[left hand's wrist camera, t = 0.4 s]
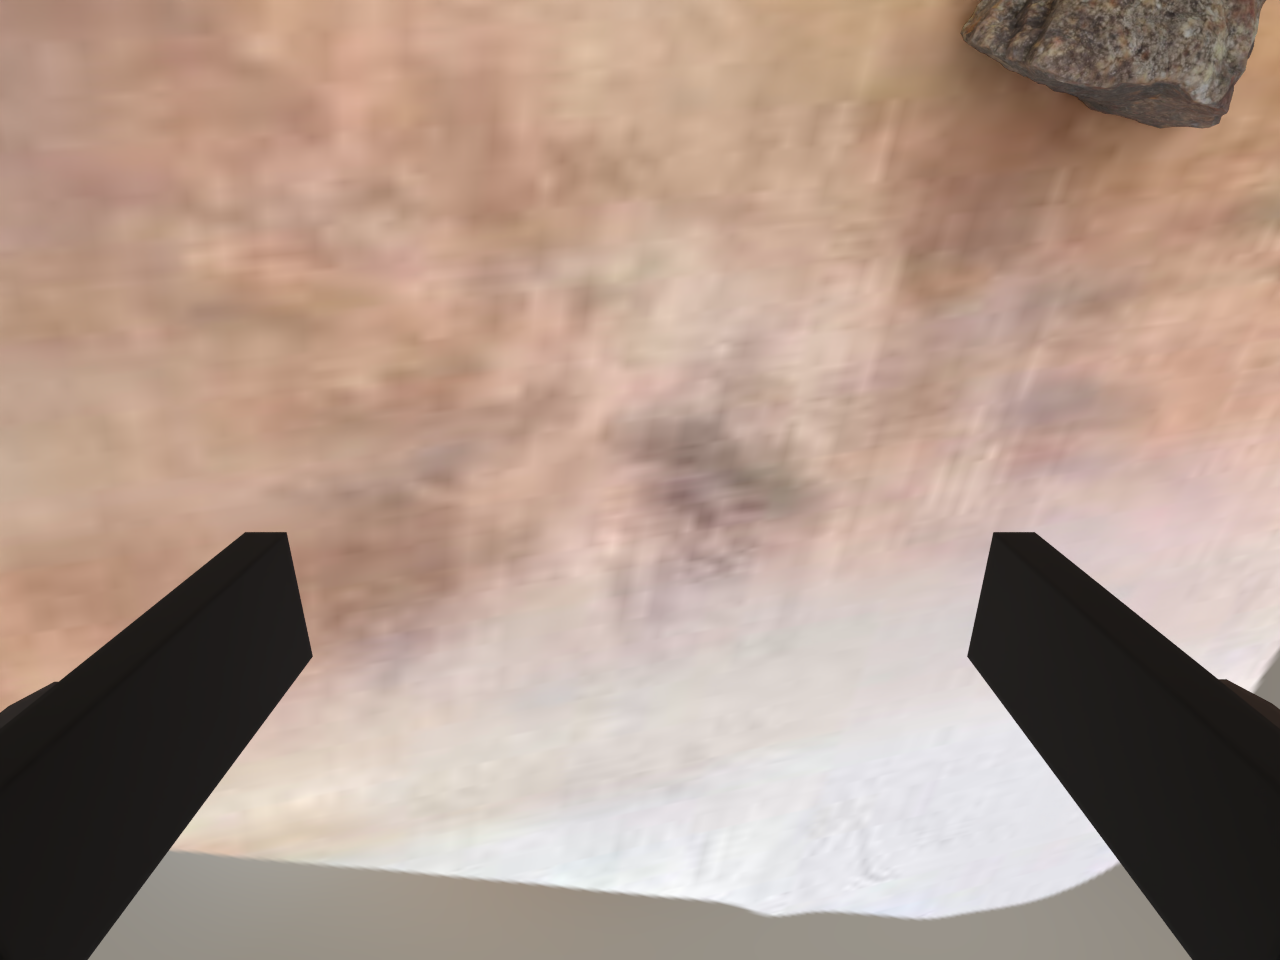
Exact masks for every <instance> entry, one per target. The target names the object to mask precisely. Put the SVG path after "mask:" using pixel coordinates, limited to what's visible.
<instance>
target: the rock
mask: <svg viewBox="0 0 1280 960" xmlns="http://www.w3.org/2000/svg"><path fill="white" fill-rule="evenodd" d="M1265 1H1266V0H982V1H981V2H980V3H979V4H978V5H977V7H976V9H975V11H974V13H973V15H972V17H971V18H970V19H969V20H968V21H967V23H966V24H965V25H964V26H963V28H962V31H961V35H962V36H963V40H964V41H965V42H967V43H968V44H969V45H971V46H972V47H974V48H975V49H977V50H978V51H980V52H981V53H984V54H986V55H988V56H989V57H991V58H993V59H994V60H996V61H998V62H1000V63H1001V64H1002V65H1003V66H1004V67H1005V68H1007V69H1008V70H1010V71H1014V72H1017V73H1019V74H1020V75H1022V76H1024V77H1028V78H1030V79H1031V80H1033V81H1035V82H1037V83H1038V84H1044V85H1047V86H1048V87H1049V88H1051V89H1052V90H1053V91H1056V92H1064V93H1068V94H1071V95H1073V96H1076V97H1078V99H1079V100H1081V101H1083V103H1084V104H1085V105H1086V106H1088V107H1089V108H1090V109H1092V110H1095V111H1099V112H1102V113H1105V114H1115V115H1118V116H1122V117H1126V118H1130V119H1133V120H1136V121H1138V122H1140V123H1143V124H1147V125H1150V126H1154V127H1157V128H1167V127H1195V128H1209V127H1212V126H1214V125H1216V124H1219V122H1220V119H1221V116H1222V115H1224V114H1226V113H1227V112H1228V110H1229V105H1230V102H1231V98H1232V95H1233V91H1234V85H1235V84H1236V82H1237V81H1238V79H1239V78H1240V77H1241V75H1242V74H1243V73H1244V71H1245V69H1246V63H1247V59H1248V58H1249V57H1250V55H1251V52H1252V49H1253V47H1254V40H1255V36H1256V34H1257V30H1258V23H1259V15H1260V10H1261V8H1262V6H1263V4H1264V2H1265Z"/></svg>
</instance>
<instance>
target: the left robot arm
mask: <svg viewBox="0 0 1280 960" xmlns="http://www.w3.org/2000/svg"><path fill="white" fill-rule="evenodd" d="M312 657H313V656H312V651H311V646H310V641H309V637H308V632H307V627H306V622H305V618H304V613H303V608H302V604H301V599H300V594H299V589H298V585H297V580H296V575H295V570H294V566H293V561H292V556H291V551H290V547H289V542H288V537H287V532H245V533H244V534H242V535H241V536H240V537H239V538H238V539H236V540H235V541H234V542H233V543H231V544H230V545H229V546H228V547H226V548H225V549H224V550H223V551H221V552H220V553H219V554H218V555H216V556H215V557H214V558H213V559H211V560H210V561H209V562H208V563H206V564H205V565H204V566H203V567H201V568H200V569H199V570H198V571H196V572H195V573H194V574H193V575H191V576H190V577H189V578H188V579H186V580H185V581H184V582H183V583H181V584H180V585H179V586H178V587H176V588H175V589H174V590H173V591H171V592H170V593H169V594H168V595H166V596H165V597H164V598H163V599H161V600H160V601H159V602H158V603H156V604H155V605H154V606H153V607H151V608H150V609H149V610H148V611H146V612H145V613H144V614H143V615H141V616H140V617H139V618H138V619H137V620H135V621H134V622H133V623H132V624H130V625H129V626H128V627H127V628H125V629H124V630H123V631H122V632H120V633H119V634H118V635H117V636H115V637H114V638H113V639H112V640H110V641H109V642H108V643H107V644H105V645H104V646H103V647H102V648H100V649H99V650H98V651H97V652H95V653H94V654H93V655H92V656H90V657H89V658H88V659H87V660H85V661H84V662H83V663H82V664H80V665H79V666H78V667H77V668H75V669H74V670H73V671H72V672H70V673H69V674H68V675H67V676H65V677H64V678H63V679H62V680H60V681H59V682H53V683H51V684H49V685H48V686H46V687H44V688H42V689H40V690H38V691H36V692H34V693H33V694H31V695H29V696H27V697H25V698H23V699H21V700H19V701H18V702H16V703H14V704H12V705H10V706H8V707H7V708H6V709H4V710H3V711H2V712H1V713H0V960H88V958H89V957H90V956H91V954H92V953H93V952H94V950H95V949H96V948H97V946H98V945H99V944H100V942H101V941H102V940H103V938H104V937H105V935H106V934H107V933H108V931H109V930H110V929H111V927H112V926H113V925H114V923H115V922H116V921H117V919H118V918H119V917H120V915H121V914H122V913H123V911H124V910H125V909H126V907H127V906H128V904H129V903H130V902H131V900H132V899H133V898H134V896H135V895H136V894H137V892H138V891H139V890H140V888H141V887H142V886H143V884H144V883H145V882H146V880H147V879H148V878H149V876H150V875H151V873H152V872H153V871H154V870H155V868H156V867H157V865H158V864H159V863H160V861H161V860H162V859H163V857H164V856H165V855H166V853H167V852H168V851H169V849H170V848H171V847H172V845H173V844H174V843H175V841H176V840H177V839H178V837H179V836H180V834H181V833H182V832H183V830H184V829H185V828H186V826H187V825H188V824H189V822H190V821H191V820H192V818H193V817H194V816H195V814H196V813H197V812H198V810H199V809H200V808H201V806H202V805H203V804H204V802H205V801H206V799H207V798H208V797H209V795H210V794H211V793H212V791H213V790H214V789H215V787H216V786H217V785H218V783H219V782H220V781H221V779H222V778H223V777H224V775H225V774H226V773H227V771H228V770H229V769H230V767H231V766H232V764H233V763H234V762H235V760H236V759H237V758H238V756H239V755H240V754H241V752H242V751H243V750H244V748H245V747H246V746H247V744H248V743H249V742H250V740H251V739H252V738H253V736H254V735H255V734H256V732H257V731H258V729H259V728H260V727H261V725H262V724H263V723H264V721H265V720H266V719H267V717H268V716H269V715H270V713H271V712H272V711H273V709H274V708H275V707H276V705H277V704H278V703H279V701H280V700H281V698H282V697H283V696H284V694H285V693H286V692H287V690H288V689H289V688H290V686H291V685H292V684H293V682H294V681H295V680H296V678H297V677H298V676H299V674H300V673H301V672H302V670H303V669H304V668H305V666H306V665H307V663H308V662H309V661H310V659H311V658H312ZM967 657H968V658H969V659H970V661H971V662H972V663H973V665H974V666H975V668H976V669H977V670H978V672H979V673H980V674H981V676H982V677H983V678H984V680H985V681H986V682H987V684H988V685H989V686H990V688H991V689H992V690H993V692H994V693H995V694H996V696H997V697H998V698H999V700H1000V701H1001V703H1002V704H1003V705H1004V707H1005V708H1006V709H1007V711H1008V712H1009V713H1010V715H1011V716H1012V717H1013V719H1014V720H1015V721H1016V723H1017V724H1018V725H1019V727H1020V728H1021V729H1022V731H1023V732H1024V734H1025V735H1026V736H1027V738H1028V739H1029V740H1030V742H1031V743H1032V744H1033V746H1034V747H1035V748H1036V750H1037V751H1038V752H1039V754H1040V755H1041V756H1042V758H1043V759H1044V760H1045V762H1046V763H1047V764H1048V766H1049V767H1050V769H1051V770H1052V771H1053V773H1054V774H1055V775H1056V777H1057V778H1058V779H1059V781H1060V782H1061V783H1062V785H1063V786H1064V787H1065V789H1066V790H1067V791H1068V793H1069V794H1070V795H1071V797H1072V798H1073V799H1074V801H1075V802H1076V804H1077V805H1078V806H1079V808H1080V809H1081V810H1082V812H1083V813H1084V814H1085V816H1086V817H1087V818H1088V820H1089V821H1090V822H1091V824H1092V825H1093V826H1094V828H1095V829H1096V830H1097V832H1098V833H1099V834H1100V836H1101V837H1102V839H1103V840H1104V841H1105V843H1106V844H1107V845H1108V847H1109V848H1110V849H1111V851H1112V852H1113V853H1114V855H1115V856H1116V857H1117V859H1118V860H1119V861H1120V863H1121V864H1122V865H1123V867H1124V868H1125V870H1126V871H1127V872H1128V874H1129V875H1130V876H1131V878H1132V879H1133V880H1134V882H1135V883H1136V884H1137V886H1138V887H1139V888H1140V890H1141V891H1142V892H1143V894H1144V895H1145V896H1146V898H1147V899H1148V900H1149V902H1150V903H1151V905H1152V906H1153V907H1154V909H1155V910H1156V911H1157V913H1158V914H1159V915H1160V917H1161V918H1162V919H1163V921H1164V922H1165V923H1166V925H1167V926H1168V927H1169V929H1170V930H1171V931H1172V933H1173V934H1174V935H1175V937H1176V938H1177V940H1178V941H1179V942H1180V944H1181V945H1182V946H1183V948H1184V949H1185V950H1186V952H1187V953H1188V954H1189V956H1190V957H1191V958H1192V960H1280V709H1278V708H1277V707H1276V706H1275V705H1273V704H1272V703H1270V702H1268V701H1266V700H1264V699H1262V698H1261V697H1259V696H1257V695H1255V694H1253V693H1251V692H1249V691H1247V690H1245V689H1244V688H1242V687H1240V686H1238V685H1236V684H1234V683H1232V682H1230V681H1228V680H1227V679H1217V678H1216V677H1215V676H1213V675H1212V674H1211V673H1210V672H1208V671H1207V670H1206V669H1205V668H1203V667H1202V666H1201V665H1200V664H1198V663H1197V662H1196V661H1195V660H1193V659H1192V658H1191V657H1190V656H1188V655H1187V654H1186V653H1185V652H1183V651H1182V650H1181V649H1180V648H1178V647H1177V646H1176V645H1175V644H1173V643H1172V642H1171V641H1170V640H1168V639H1167V638H1166V637H1165V636H1163V635H1162V634H1161V633H1160V632H1158V631H1157V630H1156V629H1155V628H1153V627H1152V626H1151V625H1150V624H1148V623H1147V622H1146V621H1145V620H1143V619H1142V618H1141V617H1140V616H1139V615H1137V614H1136V613H1135V612H1134V611H1132V610H1131V609H1130V608H1129V607H1127V606H1126V605H1125V604H1124V603H1122V602H1121V601H1120V600H1119V599H1117V598H1116V597H1115V596H1114V595H1112V594H1111V593H1110V592H1109V591H1107V590H1106V589H1105V588H1104V587H1102V586H1101V585H1100V584H1099V583H1097V582H1096V581H1095V580H1094V579H1092V578H1091V577H1090V576H1089V575H1087V574H1086V573H1085V572H1084V571H1082V570H1081V569H1080V568H1079V567H1077V566H1076V565H1075V564H1074V563H1072V562H1071V561H1070V560H1069V559H1067V558H1066V557H1065V556H1064V555H1062V554H1061V553H1060V552H1059V551H1057V550H1056V549H1055V548H1054V547H1052V546H1051V545H1050V544H1049V543H1047V542H1046V541H1045V540H1044V539H1042V538H1041V537H1040V536H1039V535H1038V534H1036V533H1035V532H993V537H992V542H991V547H990V551H989V556H988V561H987V566H986V570H985V575H984V580H983V585H982V589H981V594H980V599H979V604H978V608H977V613H976V618H975V622H974V627H973V632H972V637H971V641H970V646H969V651H968V656H967Z"/></svg>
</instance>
